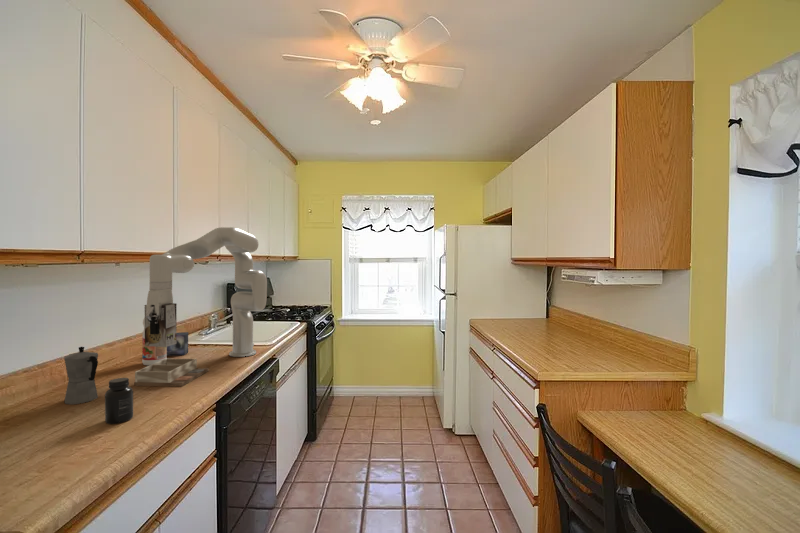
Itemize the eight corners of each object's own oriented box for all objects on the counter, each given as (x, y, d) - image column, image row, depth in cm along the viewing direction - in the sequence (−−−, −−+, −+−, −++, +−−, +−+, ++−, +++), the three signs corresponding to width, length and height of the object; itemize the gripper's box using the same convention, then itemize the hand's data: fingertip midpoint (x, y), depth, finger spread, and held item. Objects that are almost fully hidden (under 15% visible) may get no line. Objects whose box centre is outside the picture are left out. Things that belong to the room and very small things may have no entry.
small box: (160, 356, 187) (160, 335, 187) (165, 353, 194) (165, 332, 194) (184, 355, 190) (184, 334, 189) (188, 352, 196) (188, 332, 196)
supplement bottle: (134, 413, 120) (135, 375, 119) (131, 422, 113) (131, 381, 113) (107, 417, 116) (107, 378, 116) (102, 426, 110) (102, 384, 110)
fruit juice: (167, 364, 174) (167, 302, 174) (142, 366, 169) (142, 303, 169) (166, 359, 182) (166, 300, 182) (142, 361, 177) (142, 301, 177)
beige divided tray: (166, 370, 165) (166, 358, 165) (208, 370, 165) (208, 358, 165) (134, 385, 145) (134, 372, 145) (182, 386, 145) (182, 372, 145)
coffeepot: (54, 400, 129) (53, 347, 128) (86, 392, 137) (86, 342, 137) (79, 409, 122) (79, 352, 122) (112, 399, 131) (112, 346, 130)
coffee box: (177, 343, 153) (177, 303, 152) (165, 347, 146) (166, 305, 146) (155, 342, 154) (156, 302, 153) (143, 346, 147) (143, 304, 147)
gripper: (164, 284, 158) (164, 328, 158) (136, 287, 141) (135, 336, 141) (183, 285, 158) (182, 328, 158) (156, 288, 141) (156, 336, 141)
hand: (160, 331), depth 150 cm, fingers closed on coffee box, 6 cm apart
